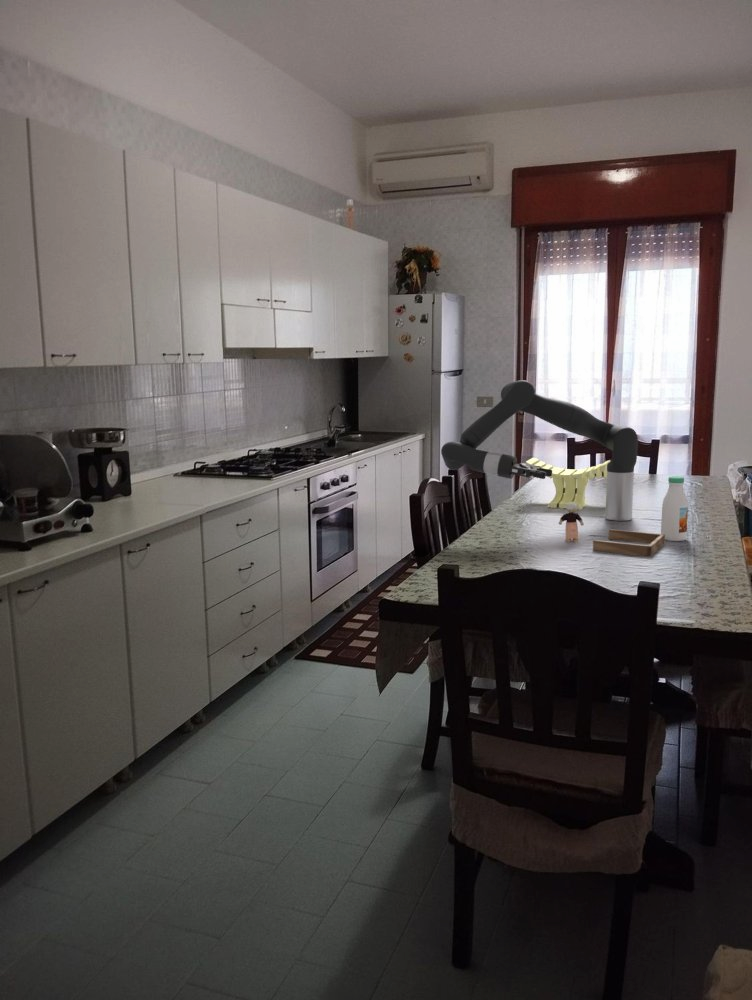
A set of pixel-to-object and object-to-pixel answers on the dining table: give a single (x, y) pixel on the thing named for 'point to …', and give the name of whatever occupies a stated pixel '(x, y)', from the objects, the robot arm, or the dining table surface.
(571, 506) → the grandmother figurine
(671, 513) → the milk bottle
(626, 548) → the box
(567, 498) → the slatted curved stool
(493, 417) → the robot arm
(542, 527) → the dining table surface
